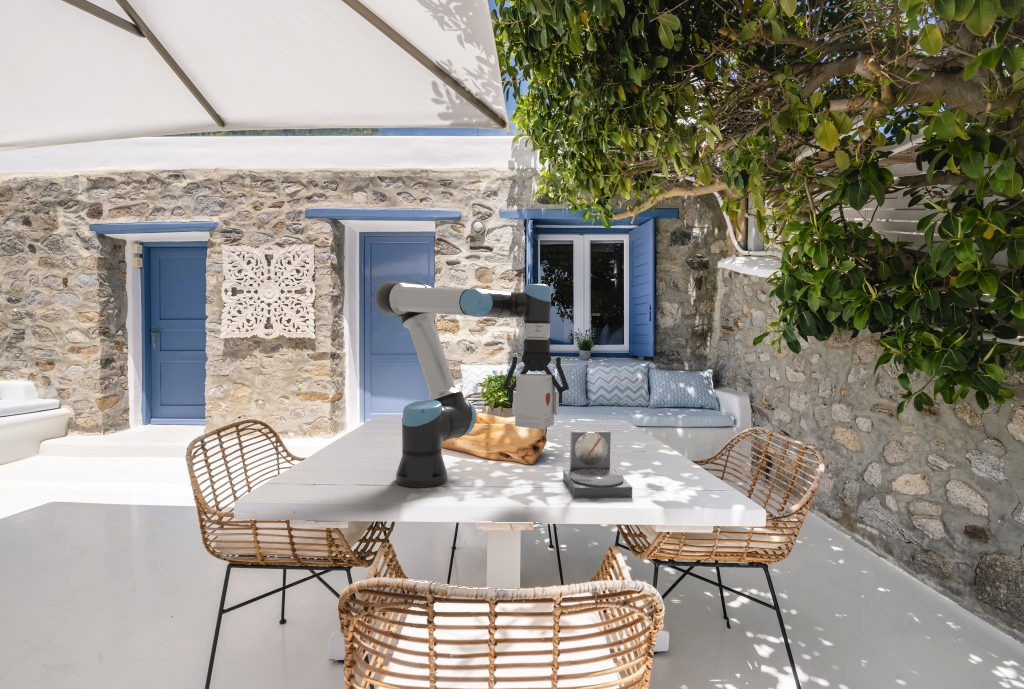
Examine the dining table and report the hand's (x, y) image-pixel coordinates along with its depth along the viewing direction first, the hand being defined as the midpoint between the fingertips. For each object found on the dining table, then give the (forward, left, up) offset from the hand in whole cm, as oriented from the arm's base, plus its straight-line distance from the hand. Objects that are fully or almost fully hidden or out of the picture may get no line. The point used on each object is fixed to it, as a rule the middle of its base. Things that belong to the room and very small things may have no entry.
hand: (535, 414), depth 151 cm
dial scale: (+18, 0, -22) cm, 28 cm away
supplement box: (0, 0, -4) cm, 4 cm away
